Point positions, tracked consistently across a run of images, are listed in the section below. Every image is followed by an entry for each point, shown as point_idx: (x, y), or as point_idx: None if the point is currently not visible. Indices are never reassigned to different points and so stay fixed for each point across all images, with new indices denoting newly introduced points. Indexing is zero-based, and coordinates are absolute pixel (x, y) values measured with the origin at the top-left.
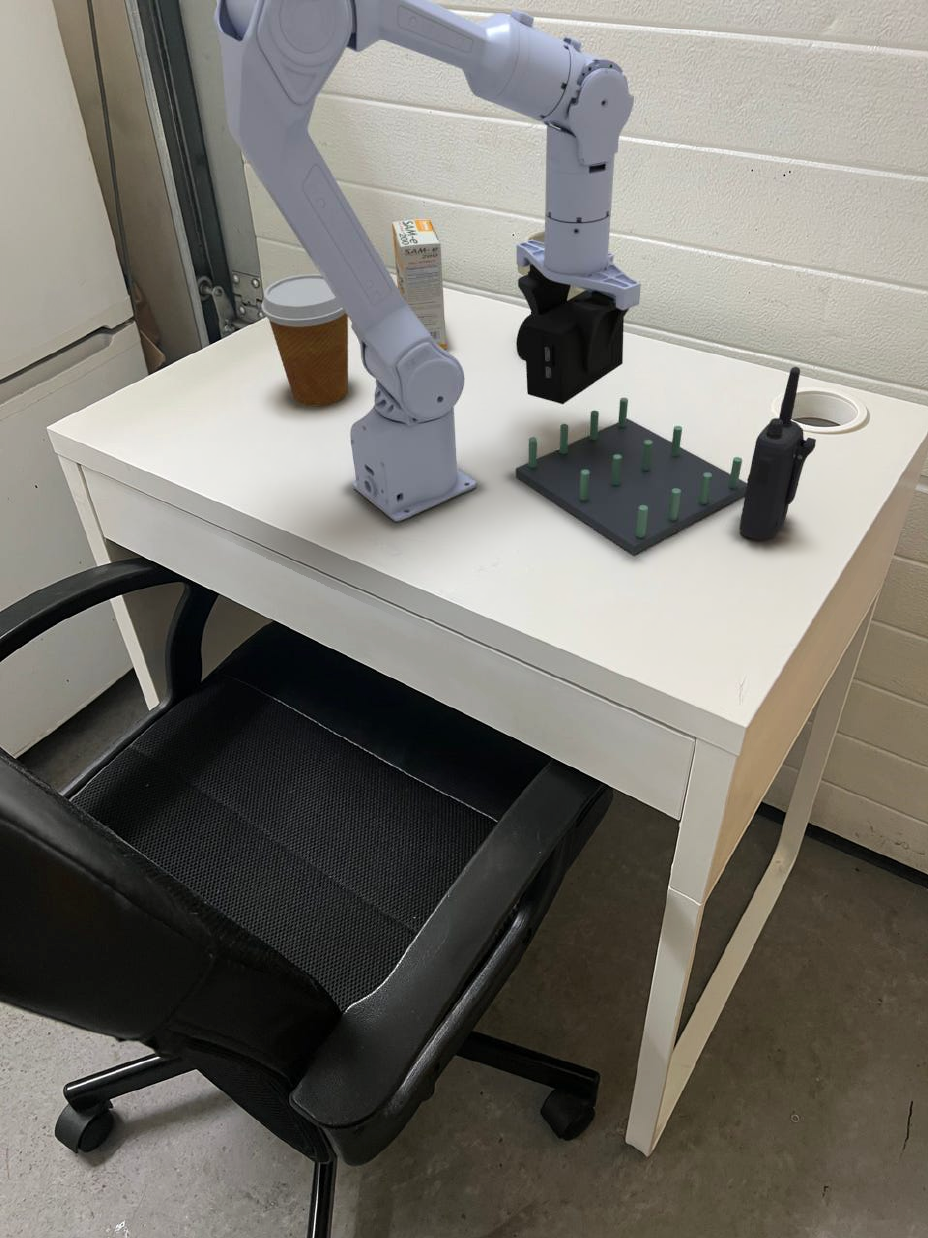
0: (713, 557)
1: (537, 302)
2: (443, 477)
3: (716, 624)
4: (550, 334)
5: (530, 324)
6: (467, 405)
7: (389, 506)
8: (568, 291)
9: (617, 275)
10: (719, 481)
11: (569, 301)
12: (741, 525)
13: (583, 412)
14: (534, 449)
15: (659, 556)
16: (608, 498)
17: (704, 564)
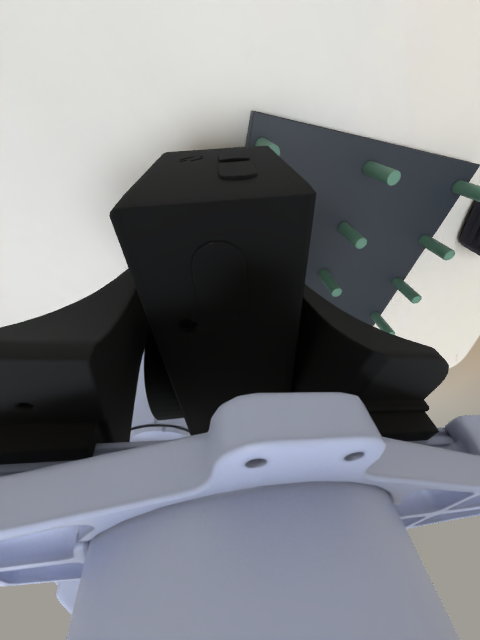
0: (433, 282)
1: (133, 409)
2: None
3: (440, 332)
4: None
5: None
6: (22, 240)
7: None
8: (121, 322)
9: (457, 502)
10: (438, 187)
11: (166, 335)
12: (465, 245)
13: (160, 119)
14: None
15: (388, 308)
16: (327, 295)
17: (426, 294)
